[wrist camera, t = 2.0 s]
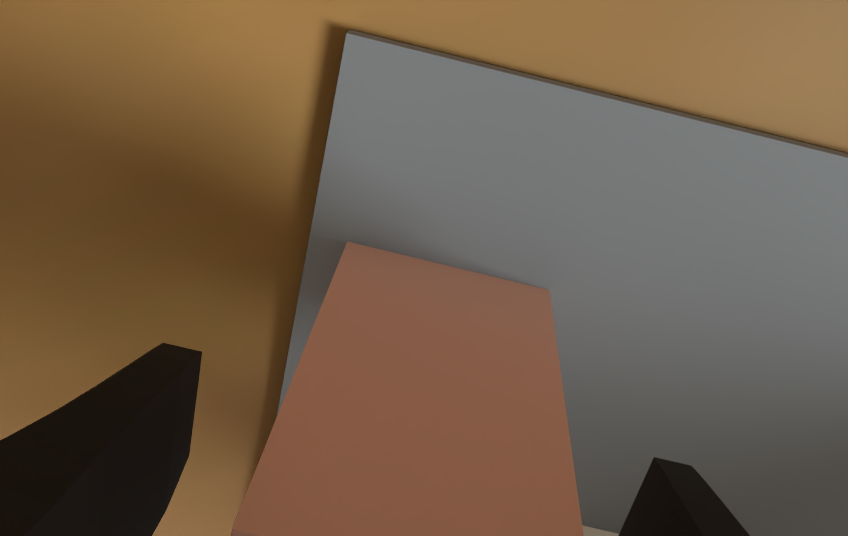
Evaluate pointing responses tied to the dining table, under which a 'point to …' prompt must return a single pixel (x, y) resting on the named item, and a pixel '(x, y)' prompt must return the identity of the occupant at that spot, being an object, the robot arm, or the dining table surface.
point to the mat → (617, 267)
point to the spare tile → (420, 411)
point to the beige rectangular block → (596, 532)
